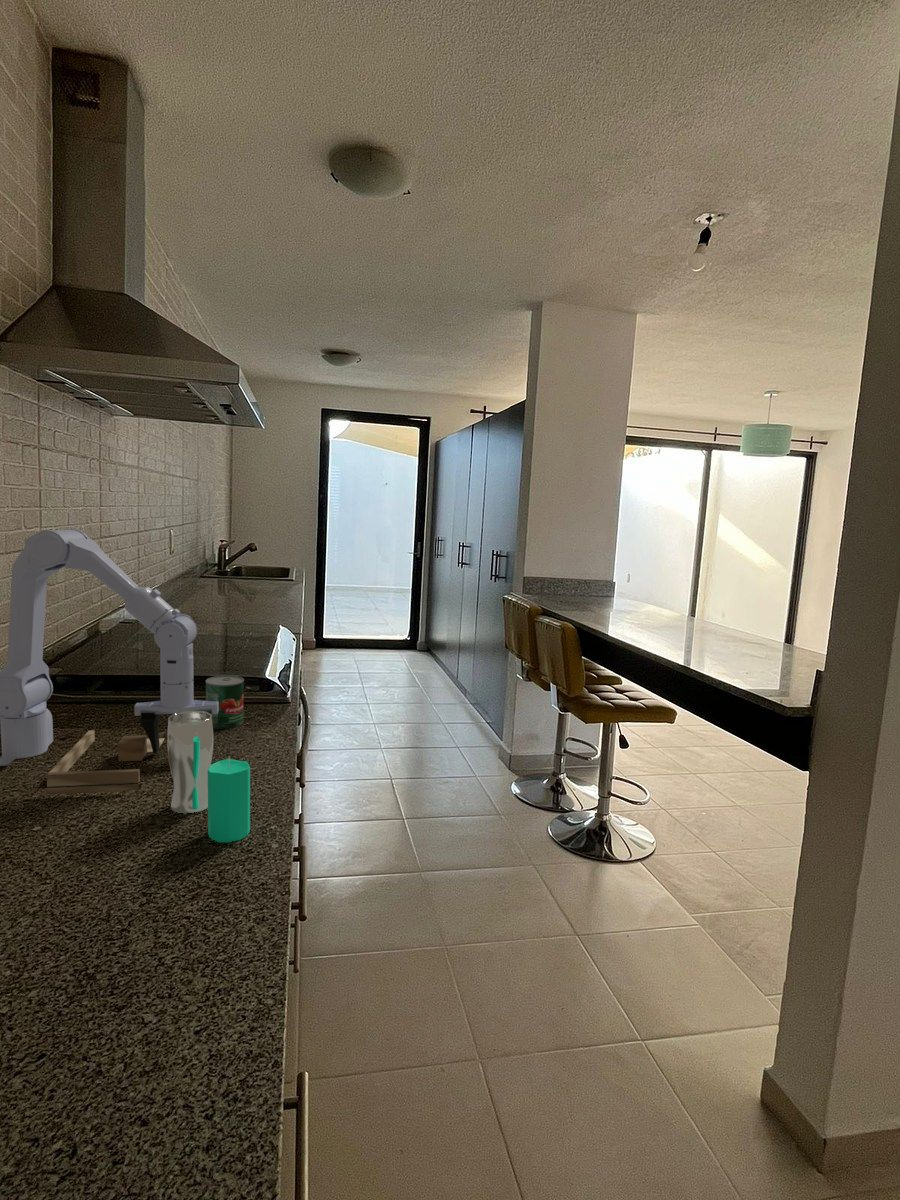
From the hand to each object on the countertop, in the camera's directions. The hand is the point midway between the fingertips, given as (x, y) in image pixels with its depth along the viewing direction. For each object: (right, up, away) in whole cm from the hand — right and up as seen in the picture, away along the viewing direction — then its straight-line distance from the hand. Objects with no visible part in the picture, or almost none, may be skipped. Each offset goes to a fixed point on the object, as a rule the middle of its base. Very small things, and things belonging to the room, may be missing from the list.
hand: (177, 750), depth 125 cm
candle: (+18, -7, -26) cm, 32 cm away
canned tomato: (+2, 0, +20) cm, 20 cm away
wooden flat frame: (-10, -2, -3) cm, 11 cm away
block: (-8, -1, -2) cm, 8 cm away
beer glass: (+9, -5, -17) cm, 20 cm away
